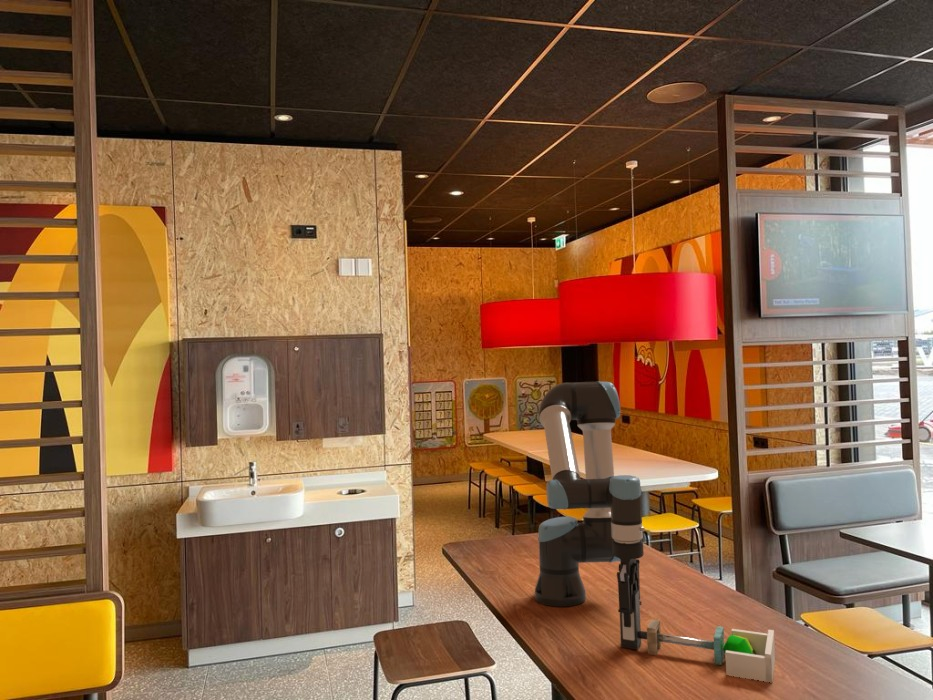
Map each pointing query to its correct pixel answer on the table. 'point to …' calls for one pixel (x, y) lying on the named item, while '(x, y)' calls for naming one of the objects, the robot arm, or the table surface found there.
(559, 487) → the robot arm
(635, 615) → the piston
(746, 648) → the apple
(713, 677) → the table surface
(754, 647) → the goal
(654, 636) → the bearing block
